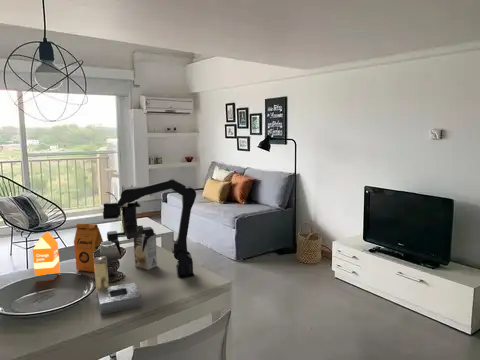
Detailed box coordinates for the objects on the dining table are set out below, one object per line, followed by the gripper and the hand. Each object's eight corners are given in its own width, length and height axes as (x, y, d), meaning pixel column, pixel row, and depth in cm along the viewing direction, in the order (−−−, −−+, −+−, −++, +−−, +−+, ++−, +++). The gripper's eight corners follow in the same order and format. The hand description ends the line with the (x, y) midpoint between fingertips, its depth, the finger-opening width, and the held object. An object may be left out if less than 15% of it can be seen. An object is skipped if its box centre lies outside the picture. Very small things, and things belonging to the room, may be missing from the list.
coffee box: (134, 266, 181) (132, 233, 179) (144, 262, 186) (142, 230, 184) (148, 270, 176) (146, 236, 174) (158, 265, 181) (156, 232, 179)
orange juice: (35, 282, 164) (31, 237, 161) (42, 274, 173) (38, 231, 170) (54, 280, 165) (50, 236, 163) (60, 273, 174) (57, 230, 171)
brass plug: (110, 288, 155) (107, 255, 154) (107, 293, 151) (105, 260, 149) (98, 289, 155) (95, 256, 153) (95, 294, 150) (92, 260, 148)
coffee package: (95, 274, 171) (92, 227, 168) (72, 272, 175) (69, 225, 172) (109, 267, 181) (106, 221, 178) (87, 264, 184) (84, 220, 182)
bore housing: (135, 292, 152) (134, 282, 151) (141, 306, 139) (140, 296, 139) (98, 298, 146) (97, 288, 146) (100, 314, 134) (99, 303, 133)
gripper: (107, 224, 150) (110, 262, 152) (155, 219, 157) (157, 255, 159) (105, 218, 160) (108, 254, 162) (150, 213, 167) (152, 248, 169)
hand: (131, 253), depth 163 cm, fingers open, 9 cm apart
